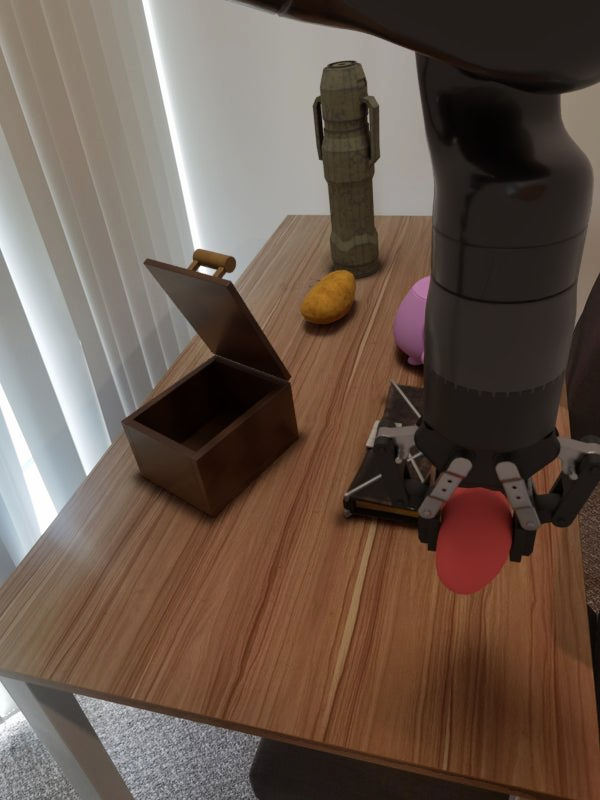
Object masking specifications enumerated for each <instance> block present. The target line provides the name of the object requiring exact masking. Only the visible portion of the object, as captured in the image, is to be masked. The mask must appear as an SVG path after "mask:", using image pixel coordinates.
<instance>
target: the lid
mask: <svg viewBox="0 0 600 800" xmlns="http://www.w3.org/2000/svg"><path fill="white" fill-rule="evenodd" d="M142 264H143V265H144V266H145V268H146V269H147V270H148V272H149V273H150V275H151V276H152V277H153V278H154V279H155V281H156V282H157V284H158V285H159V286H160V287H161V289H162V290H163V292H165V294H166V295H167V297H168V298H169V299H170V300H171V301H172V303H173V304H174V305H175V307H176V308H177V309H178V311H179V312H180V313H181V315H183V317H184V318H185V320H186V321H187V322H188V323H189V325H190V326H191V328H192V329H193V330H194V331H195V333H196V334H197V335H198V336H199V338H200V339H201V341H202V342H203V343H204V344H205V345H206V347H207V348H208V350H209V351H210V352H211V353H212V354H213V355H218V356H220V357H223V358H226V359H229V360H231V361H234V362H237V363H239V364H242V365H245V366H247V367H250V368H253V369H255V370H258V371H261V372H264V373H266V374H269V375H272V376H274V377H277V378H280V379H282V380H285V381H288V382H290V380H291V378H292V375H291V374H290V372H289V370H288V369H287V367H286V365H285V364H284V363H283V361H282V359H281V358H280V356H279V354H278V353H277V351H276V350H275V348H274V347H273V345H272V343H271V342H270V340H269V339H268V337H267V335H266V334H265V332H264V331H263V329H262V327H261V326H260V325H259V322H258V321H257V319H256V318H255V316H254V315H253V313H252V312H251V310H250V308H249V306H248V305H247V304H246V301H244V299H243V297H242V296H241V294H240V293H239V291H238V289H237V288H236V286H235V285H234V283H233V282H232V280H229V279H226V278H223V277H224V276H225V275H226V274H232V273H233V272H234V271H235V269H237V268H236V267H237V260H236V258H235V257H234V256H232V255H229V254H223V253H220V252H215V251H211V250H207V249H203V248H197V249H195V250H194V251H193V253H192V261H191V263H190V264H189V265H188V266H187V268H186V267H181V266H178V265H175V264H171V263H167V262H162V261H159V260H155V259H152V258H146V259H145V260H144V261H143V263H142ZM200 267H204V268H208V269H211V270H216V271H215V272H214V273H213V274H212V275H211V274H208V273H203V272H201V271H198V270H199V268H200Z"/></svg>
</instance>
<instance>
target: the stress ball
mask: <svg viewBox="0 0 600 800" xmlns="http://www.w3.org/2000/svg"><path fill="white" fill-rule="evenodd" d="M508 502H509V501H508V500H507V498H506V496H505V495H504V493H503V494H502V493H501V492H499V491H492V490H489V489H485V488H481V487H478V488H460V487H457V489H456V490H455V492H454V493H453V495H452V496H451V498H450V499H449V501H448V502H447V503H446V502H444V504H443V505H442V507H441V523H440V528H439V532H438V539H437V547H436V552H435V570H436V574H437V576H438V578H439V580H440V582H441V584H442V585H443V586H444V587H445V588H446V589H448V590H449V591H451V592H452V593H455V594H457V595H461V596H462V595H463V596H469V595H471V594H475V593H477V592H479V591H481V590H482V589H484V588H485V587H487V586H488V585H490V584H491V583H492V582H493V580H495V579H496V578H497V576H498V575H500V573H501V571H502V569H503V568H504V566H505V564H506V563H507V561H508V558H509V556H510V554H509V552H510V548H511V545H512V539H513V519H512V518H513V513H512V511H511V508H510V506H509V505H510V504H509V503H508Z"/></svg>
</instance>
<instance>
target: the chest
mask: <svg viewBox="0 0 600 800" xmlns="http://www.w3.org/2000/svg"><path fill="white" fill-rule="evenodd" d="M120 423H121V426H122V428H123V431H124V434H125V436H126V439H127V442H128V444H129V447H130V449H131V451H132V454H133V456H134V457H133V458H134V459H135V462H136V464H137V467H138V470H139V472H140V475H141V476H142V477H143V478H145V479H146V480H148V481H150V482H152V483H154V484H156V485H157V486H159V487H161V488H162V489H164V490H165V491H167V492H169V493H171V494H172V495H174V496H176V497H178V498H179V499H181V500H183V501H184V502H186V503H188V504H190V505H191V506H193V507H195V508H196V509H198V510H200V511H201V512H203V513H204V514H207V515H208V516H210V517H212V518H215V517H216V516H217V515H219V513H220V512H221V511H222V510H223V509H225V507H227V506H228V505H229V504H230V503H231V502H232V501H233V500H234V499H235V498H236V497H238V495H240V494H241V493H242V492H243V491H244V490H245V489H246V488H248V486H249V485H250V484H252V483H253V482H254V481H255V480H256V479H257V478H258V477H259V476H260V475H262V473H263V472H264V471H265V470H266V469H267V468H268V467H270V466H271V465H272V464H273V463H274V462H275V461H276V460H277V459H278V458H279V457H281V456H282V454H284V453H285V452H286V451H287V450H288V449H289V448H290V447H291V446H292V445H293V444H294V443H296V442H297V441H298V440H299V439H300V436H299V429H298V428H299V427H298V421H297V415H296V408H295V402H294V397H293V390H292V384H291V382H290V381H285V380H283V379H280V378H277V377H275V376H272V375H269V374H266V373H264V372H261V371H258V370H256V369H253V368H250V367H248V366H245V365H242V364H240V363H237V362H234V361H231V360H229V359H226V358H223V357H221V356H218V355H215V354H213V355H212V356H211V357H209V359H207V360H206V361H204V362H202V363H201V364H199V366H197V367H195V368H194V369H192V370H191V371H190V372H189V373H187V374H185V375H184V376H183V377H181V378H180V379H179V380H177V381H176V382H174V383H173V384H171V385H170V386H169V387H167V388H166V389H164V390H163V391H161V392H160V393H158V394H157V395H156V396H154V397H153V398H152V399H150V400H148V402H146V403H144V404H143V405H141V406H140V407H139V408H137V409H136V410H135V411H133V412H132V413H130V414H129V415H127V416H126V417H124V418H123V419H122V420H121V421H120Z"/></svg>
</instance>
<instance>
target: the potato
mask: <svg viewBox="0 0 600 800" xmlns="http://www.w3.org/2000/svg"><path fill="white" fill-rule="evenodd" d="M356 291H357V284H356V278H354V276H353V274H352V273H350V272H348V271H346V270H337V271H332V272H329V273H327V274H326V275H325V276H324V277H323V278H322V279H321V280H319V282H317V283H316V284H315V285H314V286H313V287H312V288H311V290H310V291H309V292H308V293H307V294H306V295H305V297H304V299H303V300H302V302H301V305H300V310H299V311H300V313H301V315H302V317H303V318H304V319H305V320H306V321H308V322H310V323H313V324H316V325H328V324H331V323H333V322H336V321H339V320H340V319H342V318H343V317H345V316H346V314H348V313H349V312H350V310H351V308H352V306H353V303H354V300H355V296H356Z"/></svg>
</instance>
